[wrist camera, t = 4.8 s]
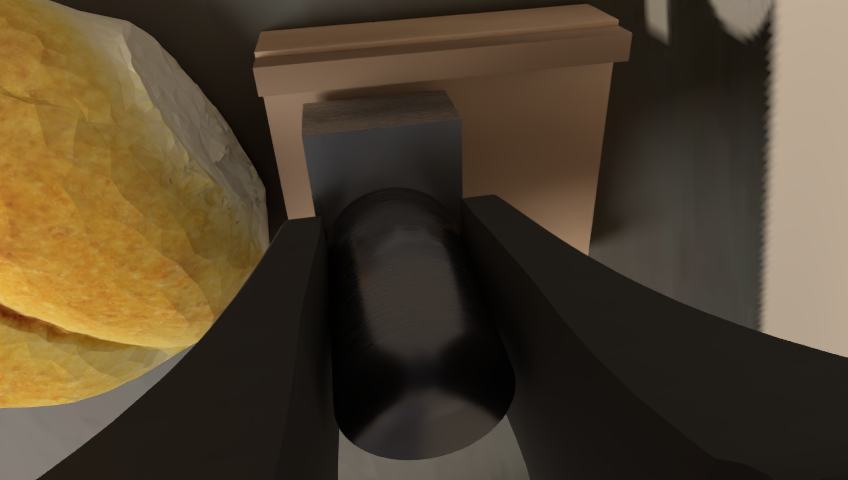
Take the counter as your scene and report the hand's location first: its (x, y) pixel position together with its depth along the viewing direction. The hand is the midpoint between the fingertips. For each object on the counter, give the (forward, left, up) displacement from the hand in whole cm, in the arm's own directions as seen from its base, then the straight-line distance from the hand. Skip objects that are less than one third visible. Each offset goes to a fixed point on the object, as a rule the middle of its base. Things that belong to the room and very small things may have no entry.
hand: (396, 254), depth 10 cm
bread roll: (0, +7, -4) cm, 8 cm away
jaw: (0, 0, -2) cm, 2 cm away
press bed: (0, -1, -4) cm, 4 cm away
